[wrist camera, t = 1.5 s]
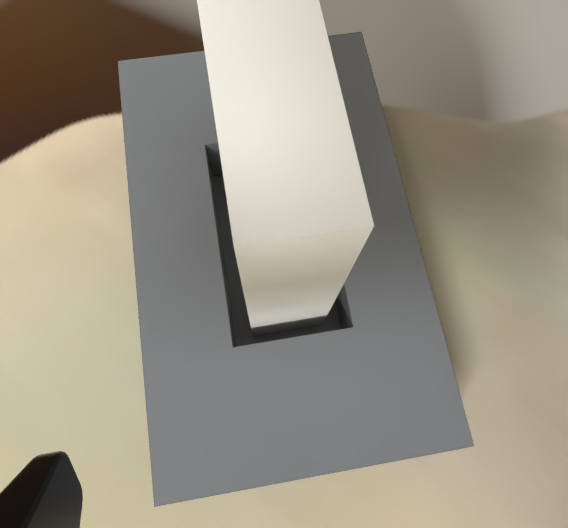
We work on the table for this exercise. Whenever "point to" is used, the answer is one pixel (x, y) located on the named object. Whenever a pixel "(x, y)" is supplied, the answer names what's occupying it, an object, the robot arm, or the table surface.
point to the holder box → (280, 345)
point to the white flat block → (284, 158)
